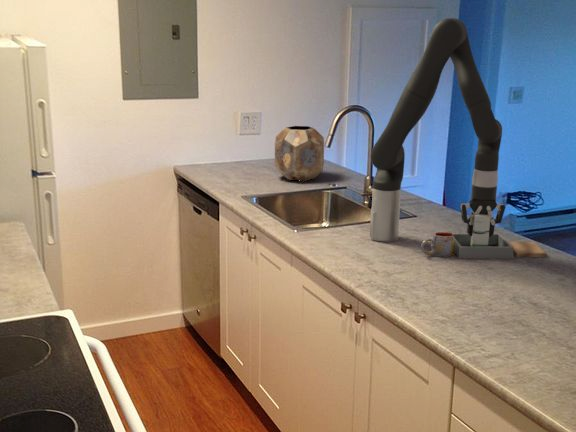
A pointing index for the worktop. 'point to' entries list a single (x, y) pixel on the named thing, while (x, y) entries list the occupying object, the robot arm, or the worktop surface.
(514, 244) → the tan flat slab
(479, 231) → the ink box
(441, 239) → the mug
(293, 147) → the planter
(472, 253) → the parts bin
